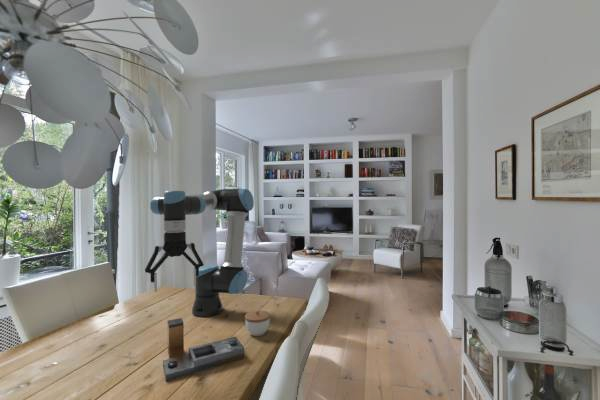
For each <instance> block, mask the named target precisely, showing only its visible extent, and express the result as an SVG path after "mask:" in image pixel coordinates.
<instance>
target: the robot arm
mask: <svg viewBox="0 0 600 400" xmlns="http://www.w3.org/2000/svg"><path fill="white" fill-rule="evenodd" d="M254 203H255V202H254V196H253V194H252V191H250V190H249V189H248V188H241V187H240V188H222V189H221V188H220V189H217V190H211V191H206V192H204V193H198V194H197V193H196V194H186V191H184V190H166V191H164V194H163V196H161V195H160V196H156V197H153V198H152V199H151V201H150V203H149V204H150V207H149V208H150V211H151V212H152V213H153V214H155V215H163V231H164V233H163V245H155V246H154V251H153V253H152V255H151V256H150V259H149V260H148V262H147V265H146V267H145V269H144V272H145V273H146V274H147V273H148V274H149V275H150V282H151V283H153V291H154V293H156V292H157V291H158V283H157V282H158V274H157V273H158V272H157V270H158V269H159V268H160V266H161V265H162V264H163V263H164V262H165V261H166V260H167V259H168V258H169V257H170V258H174V257H180V256H184V258H185V259H186V260H188V262H189V263H190V264H192V266H194V267H192V285H193V286H194V287H195V288H194V289H195V293H194V294H195V298H194V301H193V305H192V307H191V314H192V315H193V316H196V317H199V318H200V317H202V318H203V317H204V318H205V317H211V316H215V315H218V314H219V313H221V312H223V303H222V300H221V297H220V294H230V295H238V294H241V293H242V292H243V291H244V289H245V287H246V285H247V282H248V273H247V271H246V270H244V269H245V268H244V265H243V263H242V259H243V257H242V256H243V246H244V245H243V244H244V235H245V224H246V223H245V222H246V218H247V216H249V212H250V211H253V208H254V205H255V204H254ZM205 210H206V211H207V210H208V211H211V210H218V211H226V214H227V216H228V221H227V230H226V240H225V251H224V259H223V263H222V264H221V265H220V267H219V265H218V264H212V265H205V266H204V262H203V261H202V259H201V258H202V257H200V255H199V254H198V252H197V250H196V246H195V243H194V242H190V243H186V242H187V241H186V240H187V237H186V236H187V235H186V234H187V233H186V231H185V230H186V228H187V227H186V215H187V216H189V215H192V216H193V215H198V214H199V215H200V214H202V213H204V212H205ZM187 248H188V249H189V250H191V252H192V254H193V257H195V260H196V261H197V262H196V261H194V260H193V258H191V256H190V255H188V253H187V252H186V249H187ZM162 250H163V251H164V253H163V255H162V256H161V257H160V259H158V261H157V262H156V263H155V264H154V262H155V260H156V258H157V256H158V254H159V253H160V252H162Z"/></svg>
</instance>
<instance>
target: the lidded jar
mask: <svg viewBox="0 0 600 400" xmlns="http://www.w3.org/2000/svg"><path fill="white" fill-rule="evenodd" d="M270 317H271V314H270V313H269V311H265V310H251V311H248V312H247V313H246V314H245V315H244V319H245V322H244V323H245V328H246V330H247V332H248V333H249V334H250V335H251V336H254V337H259V336H263V335H264V334H266V332H267V331H268V329H269V327H270V321H271V319H270Z"/></svg>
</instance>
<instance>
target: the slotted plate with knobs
mask: <svg viewBox="0 0 600 400" xmlns="http://www.w3.org/2000/svg"><path fill="white" fill-rule="evenodd" d="M244 359H245V347H244V345H243V344H242V343H241V341H240V340H239V339H238V338H237V337H236V336H232V337H228V338H225V339H220V340H217V341H212V342H208V343H205V344H201V345H196V346H192V347H188V353H186V354H184V355H180V356H176V357H172V358H167V359H164V360H162V369H163V373H164V378H165V382H168V381H172V380H175V379H180V378H182V377H185V376H189V375H193V374H195V373H200V372H203V371H207V370H210V369H214V368H217V367H220V366H224V365H226V364H231V363H234V362H239V361H241V360H244Z"/></svg>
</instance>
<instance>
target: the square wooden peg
mask: <svg viewBox="0 0 600 400" xmlns="http://www.w3.org/2000/svg"><path fill="white" fill-rule="evenodd" d="M166 322H167V325H166V326H167V327H166V328H167V355H168V359H170V358H174V357H178V356H182V355H185V352H184V351H185V349H184V347H185V345H184V343H185V342H184V340H185V338H184V336H185V333H184V331H185V330H184V326H185V325H184V321H183V319H182V317H179V318H175V319H170V320H169V319H168V320H167V321H166Z"/></svg>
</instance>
